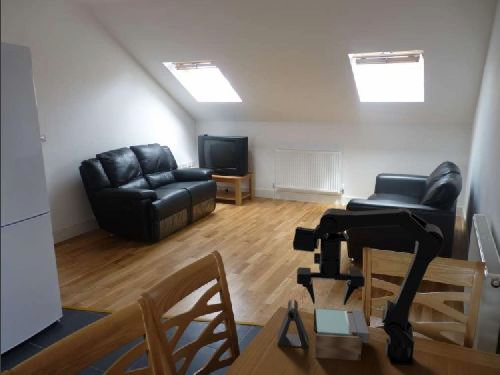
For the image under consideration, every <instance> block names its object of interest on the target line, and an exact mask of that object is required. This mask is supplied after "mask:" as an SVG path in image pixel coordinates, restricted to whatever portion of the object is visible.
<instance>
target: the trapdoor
mask: <svg viewBox="0 0 500 375" xmlns="http://www.w3.org/2000/svg"><path fill="white" fill-rule="evenodd" d="M315 309H316V320H317V330H316V334H329V335H346V336H352V334H355V335H356V336H362V344H363V343H366V344H368V343H369V339H370V332H369V328H368V324H367V322H366V318H365V315H364V311H363V310H362V309H351V310H352V313H347V311H339V310H340V309H334V310H324V309H325V308H315Z"/></svg>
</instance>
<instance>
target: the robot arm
mask: <svg viewBox="0 0 500 375" xmlns="http://www.w3.org/2000/svg"><path fill="white" fill-rule="evenodd" d="M319 219H320V220H319V223H318V224H317V225H316V227H315V228H310V227H309V228H308V227H303V226H297V227H295V229H294V230H295V231H294V236H293V241H292V248H293V250H294V251H300V252H307V253H313V264H315V265H318V270H319V272H315V271H314V272H313V271H311V267H298V268H297V269H296V284H297V285H302V288H306V290H307V291H308V294H309V296H310V298H311V301H312V303H313V305H314V304H316V299H315V289H314V282H313V280H322V281H323V280H324V281H326V280H328V281H345V286H344V293H343V299H342V300H343V301H342V303H343V306H346V304H347V302H348V301H349V299H350V297H351V295H352V294H353V293H354V292H355V290H358V289H359V288H363V287H365V285H366V284H365V283H366V278H365V275H364V273H363V271H362V269H356V268H355V269H354V268H353V269H352V268H351V269H349V268H348V270H347V273H344V272H341V265H342V264H341V261H342V260H341V259H342V258H341V257H342V242H346V243H347V242H348V241H349V238H350V237H349V236H350V235H348V234H347V233H346V231H348V230H353V229H359V228H362V229H363V228H378V227H380V228H381V227H400V228H402V229H403V230H404V231H406V233H408V234H409V236H411V237H412V238H413V239H414V240H415V247H414V254H413V255H412V256H413V257H412V259H411V262H410V263H409V266H408V269H407V271H406V273H405V276H404V277H403V278H404V279H403V281H402V283H401V285H400V288H399V291H397V295H396V297H395V298H394V299H393V300H392V301H391V300H389V299H387V300H386V304H385V307H384V308H383V309H382V316H381V323H382V324H383V326H382V327H383V331H384V332H385V334H386V335H387V336H388V337H387V338H386V339H385V348H384V351H385V355H386V357H387V358H388V361H389V363H390V364H394V365H410V366H414V365H415V361H414V351H415V350H414V349H415V340H414V331H413V330H414V329H413V324H412V323H411V321H409V316H410V315H409V314H410V308H411V307H412V305H413V303H414V302H413V301H414V300H415V297H416V295H417V292H418V290H419V288H420V286H421V284H422V281H423V279H424V277H425V274H426V273H427V270H428V267H429V265H430V264H431V263H432V262H434V260H435V259H436V258H437V257H438V256H439V254H440V253H441V251H442V250H443V248H444V245H445V239H444V236H443V234H442V230H441V228H439V227H438V226H437V225H435V224H432V223H428V222H427V221H426V220H424V219H422V218H421V217H420V216H418V215H416V214H414V213H413V212H412V211H411V210H409V209H408V208H406V207H400V208H391V209H378V210H377V209H376V210H361V211H360V210H359V211H355V210H352V211H351V210H348V209H343V208H333V207H331V208H327V209H326V210H325V211H324V212H323V214H322V215H321V217H320V218H319ZM319 246H320V247H319ZM319 248H320V252H315V251H316V250H319Z"/></svg>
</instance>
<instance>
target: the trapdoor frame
mask: <svg viewBox="0 0 500 375" xmlns="http://www.w3.org/2000/svg"><path fill="white" fill-rule="evenodd" d="M316 309H317V308H314V309H313V330H314V331H317V320H316ZM323 309H324V310H335V309H332V308H329V309H328V308H323ZM338 310H339V311H347V313H352V310H353V309H351V310H350V309H348V310H347V309H338ZM314 343H315V348H314V352H315V353H314V357H315V358H318V359H319V358H320V359H333V360H334V359H335V360H346V361H347V360H349V361H361V360H362V345H363V342H362V336H356V335H355V334H352V336H346V335H329V334H317V333H315V342H314Z"/></svg>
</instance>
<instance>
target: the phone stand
mask: <svg viewBox="0 0 500 375" xmlns="http://www.w3.org/2000/svg"><path fill="white" fill-rule="evenodd" d="M293 302H294V303H293ZM293 302H292V299H290V300H289V301H288V302H287V310H286V313H285V315H284V317H283V320H282V322H281V325H280V327H279V330H278V332H277V342H276V345H277V346H278V347H287V348H288V347H289V348H292V347H293V348H306V349H307V348H309V346H308V345H309V344H308V332H307V330H306V327H305V325H304V322H303V320H302V318H301V314H300V312H299V303H298V301H297V300H296V299H294V301H293ZM292 304H293V305H294V307H292V306H293V305H292ZM292 322H294V323H295V327H296V330H297V333H288V331H289V328H290V325H291V323H292Z"/></svg>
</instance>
